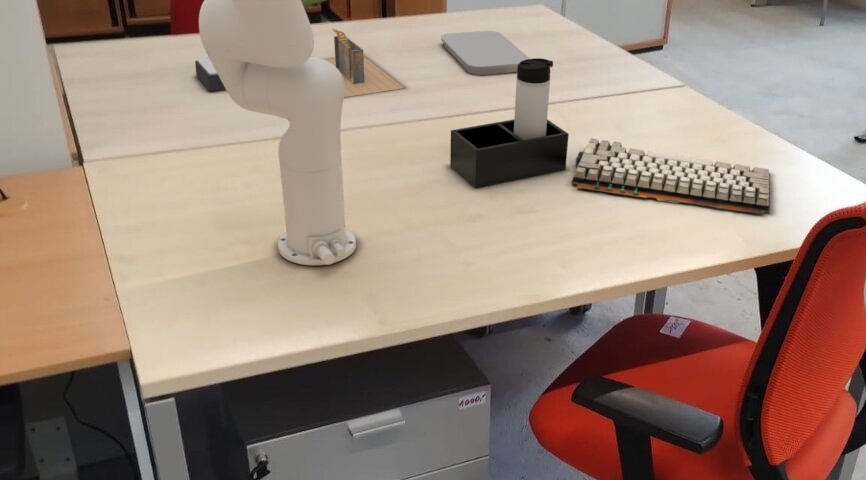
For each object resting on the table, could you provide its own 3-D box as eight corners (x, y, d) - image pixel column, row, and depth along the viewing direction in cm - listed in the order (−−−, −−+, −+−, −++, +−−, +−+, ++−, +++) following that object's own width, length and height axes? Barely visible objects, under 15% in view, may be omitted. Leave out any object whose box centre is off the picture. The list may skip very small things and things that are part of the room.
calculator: (274, 66, 214) (207, 72, 207) (275, 85, 216) (209, 91, 210) (258, 52, 222) (194, 57, 215) (259, 70, 224) (195, 75, 217)
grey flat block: (496, 38, 250) (497, 30, 249) (533, 71, 230) (534, 62, 229) (438, 43, 245) (438, 34, 244) (470, 76, 225) (470, 67, 224)
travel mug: (542, 169, 182) (550, 67, 171) (509, 165, 183) (514, 63, 172) (548, 156, 188) (555, 57, 176) (515, 152, 188) (521, 53, 177)
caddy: (565, 169, 184) (568, 133, 180) (475, 188, 176) (476, 150, 172) (538, 149, 192) (540, 114, 187) (450, 166, 183) (450, 130, 179)
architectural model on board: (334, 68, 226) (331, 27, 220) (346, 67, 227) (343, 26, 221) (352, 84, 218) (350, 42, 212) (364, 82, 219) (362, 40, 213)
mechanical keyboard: (769, 174, 187) (773, 158, 185) (770, 218, 172) (773, 201, 170) (581, 150, 193) (583, 134, 191) (565, 190, 178) (567, 174, 176)
